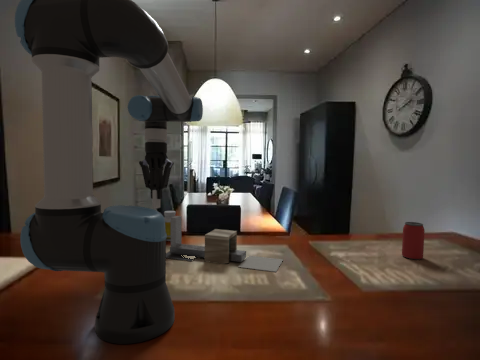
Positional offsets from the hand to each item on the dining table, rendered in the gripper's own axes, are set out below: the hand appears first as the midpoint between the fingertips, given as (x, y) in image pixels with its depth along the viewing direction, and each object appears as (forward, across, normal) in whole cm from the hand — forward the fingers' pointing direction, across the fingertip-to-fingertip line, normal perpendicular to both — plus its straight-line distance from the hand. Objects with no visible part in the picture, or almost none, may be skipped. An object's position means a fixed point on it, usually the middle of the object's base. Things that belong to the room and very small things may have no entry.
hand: (156, 207), depth 112 cm
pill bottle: (+16, +4, -16) cm, 23 cm away
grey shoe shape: (+16, -11, 0) cm, 19 cm away
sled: (+15, -20, 0) cm, 25 cm away
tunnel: (+16, -25, 0) cm, 30 cm away
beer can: (+16, -87, -24) cm, 92 cm away
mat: (+16, -39, 0) cm, 42 cm away
